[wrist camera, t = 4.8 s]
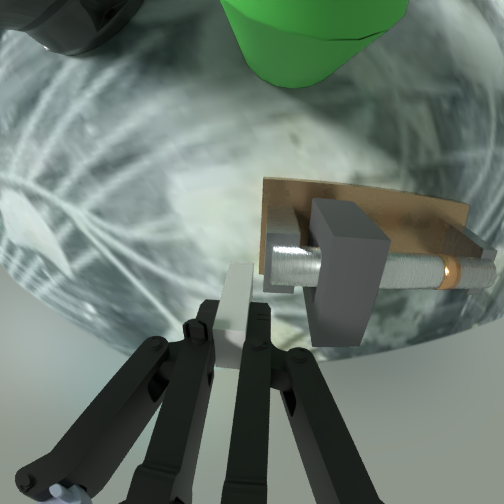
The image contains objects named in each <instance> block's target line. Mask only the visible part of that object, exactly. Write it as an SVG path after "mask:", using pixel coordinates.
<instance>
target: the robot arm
mask: <svg viewBox="0 0 504 504" xmlns="http://www.w3.org/2000/svg"><path fill="white" fill-rule="evenodd" d="M143 1H144V0H0V29H7V30H17V31H22V32H26V33H27V34H28V35H29V36H31V37H32V38H33V39H35V40H36V41H38V42H39V43H40V44H42V45H43V47H44V48H46V49H47V50H49V51H51V52H54V53H59V54H64V55H76V54H81V53H84V52H87V51H89V50H92V49H94V48H96V47H97V46H99V45H101V44H102V43H104V42H105V41H107V40H108V39H110V38H111V37H112V36H113V35H115V34H116V33H117V32H118V31H119V30H120V29H121V28H122V27H123V26H124V25H125V24H126V23H127V22H128V21H129V20H130V19H131V18H132V17H133V15H134V14H135V13H136V12H137V10H138V9H139V7H140V6H141V4H142V3H143ZM253 267H254V263H245V262H230V266H229V269H228V273H227V277H226V280H225V284H224V288H223V291H222V295H221V299H220V300H208V299H206V300H205V301H204V302H203V303H202V304H201V305H200V308H199V311H198V313H197V316H196V319H191V320H188V321H187V322H185V323H184V324H183V333H184V340H181V341H177V342H169V343H168V341H167V340H166V339H165V338H163V337H161V336H152V337H149V338H147V339H146V340H145V341H144V342H143V343H142V344H141V345H140V346H139V348H138V349H137V350H136V351H135V352H134V353H133V354H132V356H131V357H130V358H129V359H128V360H127V361H126V363H125V364H124V365H123V366H122V367H121V368H120V369H119V371H118V372H117V373H116V374H115V375H114V376H113V378H112V379H111V380H110V381H109V382H108V383H107V385H106V386H105V387H104V388H103V389H102V391H101V392H100V393H99V394H98V395H97V396H96V398H95V399H94V400H93V401H92V402H91V403H90V405H89V406H88V407H87V408H86V409H85V411H84V412H83V413H82V414H81V415H80V417H79V418H78V419H77V420H76V422H75V423H74V424H73V425H72V426H71V427H70V429H69V430H68V431H67V433H66V434H65V435H64V436H63V437H62V439H61V440H60V441H59V442H58V443H57V445H56V446H55V447H54V449H53V450H52V451H51V452H50V453H48V454H47V455H44V456H43V457H41V458H39V459H37V460H35V461H34V462H32V463H30V464H28V465H26V466H25V467H22V468H21V469H19V470H18V471H17V473H16V475H15V482H16V486H17V487H18V489H19V490H20V492H22V493H23V494H24V495H26V496H28V497H30V498H32V499H33V500H35V501H36V502H37V504H92V501H91V499H92V498H93V497H94V496H96V495H97V494H98V493H99V492H100V491H101V490H102V489H103V487H104V486H105V485H106V484H107V482H108V481H109V480H110V478H111V476H112V475H113V473H114V472H115V470H116V469H117V468H118V466H119V465H120V463H121V462H122V461H123V459H124V458H125V456H126V455H127V453H128V452H129V450H130V449H131V447H132V446H133V444H134V443H135V441H136V440H137V438H138V437H139V436H140V434H141V433H142V431H143V429H144V428H145V427H146V425H147V424H148V422H149V421H150V419H151V418H152V416H153V415H154V413H155V411H156V410H157V409H158V407H159V406H160V404H161V403H162V405H161V408H160V411H159V414H158V418H157V421H156V424H155V427H154V430H153V433H152V436H151V440H150V443H149V446H148V449H147V453H146V456H145V459H144V462H143V463H142V464H141V465H139V466H137V468H136V470H135V472H134V475H133V478H132V481H131V485H130V488H129V491H128V495H127V499H126V500H125V501H122V502H121V503H119V504H192V485H193V480H194V475H195V469H196V464H197V459H198V454H199V449H200V443H201V438H202V433H203V428H204V423H205V418H206V413H207V408H208V403H209V398H210V393H211V388H212V384H213V379H214V365H216V367H222V368H232V369H240V372H239V380H238V387H237V396H236V403H235V410H234V418H233V426H232V433H231V441H230V449H229V456H228V463H227V471H226V478H225V481H224V485H223V490H222V497H221V504H267V464H268V440H269V411H270V388H274V389H277V390H280V394H281V397H282V400H283V403H284V407H285V410H286V413H287V416H288V419H289V422H290V425H291V428H292V431H293V434H294V437H295V441H296V443H297V447H298V450H299V453H300V456H301V459H302V462H303V465H304V468H305V471H306V474H307V477H308V480H309V483H310V486H311V488H312V492H313V495H314V497H315V500H316V503H317V504H384V503H383V502H382V501H381V500H380V499H379V497H378V495H377V493H376V490H375V488H374V486H373V484H372V481H371V480H370V477H369V475H368V473H367V471H366V468H365V466H364V464H363V462H362V459H361V457H360V455H359V453H358V451H357V449H356V446H355V444H354V442H353V440H352V437H351V435H350V433H349V431H348V429H347V427H346V424H345V422H344V420H343V418H342V416H341V414H340V412H339V410H338V407H337V405H336V403H335V401H334V399H333V396H332V394H331V392H330V390H329V388H328V386H327V384H326V381H325V379H324V377H323V375H322V373H321V371H320V369H319V367H318V364H317V362H316V360H315V358H314V356H313V354H312V353H311V352H310V351H309V350H307V349H305V348H301V347H295V348H292V349H290V350H289V351H283V350H280V349H278V348H276V347H275V346H274V345H273V344H272V342H271V308H270V307H269V305H268V303H259V302H252V292H253ZM162 401H163V402H162Z"/></svg>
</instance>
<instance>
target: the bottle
mask: <svg viewBox="0 0 504 504" xmlns="http://www.w3.org/2000/svg"><path fill="white" fill-rule="evenodd" d="M408 1H409V0H220V2H221V4H222V6H223V9H224V11H225V13H226V16H227V18H228V20H229V23H230V25H231V27H232V30H233V32H234V34H235V37H236V39H237V42H238V44H239V46H240V49H241V51H242V54H243V56H244V58H245V60H246V62H247V64H248V66H249V68H250V69H251V70H253V71H254V72H255V73H256V74H257V75H258V76H259V77H260V78H261V79H263V80H265V81H267V82H269V83H271V84H273V85H275V86H281V87H287V88H292V89H293V88H301V87H309V86H311V85H314V84H316V83H318V82H320V81H322V80H324V79H325V78H326V77H328V76H329V75H330V74H331V73H333V72H334V71H335V70H336V69H338V68H339V67H340V66H342V65H343V64H344V63H345V62H347V61H348V60H349V59H350V58H352V57H353V56H354V55H356V54H357V53H358V52H360V51H361V50H362V49H363V48H365V47H366V46H367V45H369V44H370V43H372V42H373V41H374V40H376V39H377V38H378V37H380V36H381V35H383V34H384V33H385V32H387V31H388V30H389V29H390V28H391V27H392V26H393V25H394V24H395V23H396V22H397V21H398V20H399V19H400V18H402V17H403V16H404V15H405V14H406V10H407V6H408Z"/></svg>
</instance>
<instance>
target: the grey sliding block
mask: <svg viewBox="0 0 504 504" xmlns="http://www.w3.org/2000/svg"><path fill="white" fill-rule="evenodd" d="M390 244H391V240H390V239H389V238H388V237H387V235H386V234H385V233H384V232H383V231H382V230H381V229H380V228H379V227H378V226H377V225H376V224H375V223H374V222H373V221H372V220H371V219H370V218H369V217H368V216H367V215H366V214H365V213H364V212H363V211H362V210H361V209H360V208H359V207H358V206H357V205H356V204H355V203H354V202H353V201H344V200H334V199H322V198H313V199H312V208H311V218H310V227H309V235H308V244H307V246H313V247H320V250H321V253H322V259H321V265H320V271H319V277H318V283H317V287H308V286H303V292H304V298H305V304H306V310H307V316H308V323H309V329H310V336H311V342H312V347H350V346H359V345H360V343H361V340H362V337H363V335H364V332H365V329H366V326H367V323H368V320H369V318H370V315H371V311H372V308H373V305H374V302H375V299H376V296H377V292H378V289H379V286H380V282H381V279H382V275H383V271H384V268H385V264H386V260H387V256H388V252H389V248H390Z"/></svg>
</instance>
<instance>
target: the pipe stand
mask: <svg viewBox="0 0 504 504" xmlns="http://www.w3.org/2000/svg"><path fill="white" fill-rule="evenodd" d="M313 198H322V199H334V200H344V201H353V202H354V203H355V204H356V205H357V206H358V207H359V208H360V209H361V210H362V211H363V212H364V213H365V214H366V215H367V216H368V217H369V218H370V219H371V220H372V221H373V222H374V223H375V224H376V225H377V226H378V227H379V228H380V229H381V230H382V231H383V232H384V233H385V234H386V235H387V237H388V238H389V239H390V240H391V244H390V248H389V252H388V256H387V260H386V264H385V268H384V271H383V275H382V279H381V282H380V286H379V289H434V290H451V289H462V290H463V291H464V292H465V293H466V294H467V295H477V294H481V293H482V291H483V289H484V288H489V287H491V286H492V285H493V283H494V281H495V278H496V267H495V264H494V260H495V257H496V254H497V250H495V249H494V248H493V247H492V246H490V245H489V244H488V243H486V242H485V241H484V240H482V239H481V238H480V237H478V236H477V235H476V234H474V233H473V232H471V231H470V230H469V229H467V228H466V227H465V223H466V219H467V215H468V210H469V206H470V205H468V204H466V203H464V202H459V201H454V200H450V199H445V198H439V197H434V196H429V195H423V194H417V193H412V192H405V191H399V190H392V189H386V188H378V187H371V186H363V185H355V184H346V183H337V182H327V181H316V180H304V179H290V178H274V177H263V197H262V219H261V241H260V261H259V274H263V275H264V283H263V292H270V293H291V294H293V293H294V286H308V287H317V283H318V277H319V271H320V265H321V259H322V253H321V250H320V247H313V246H307V244H308V235H309V227H310V218H311V208H312V199H313Z"/></svg>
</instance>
